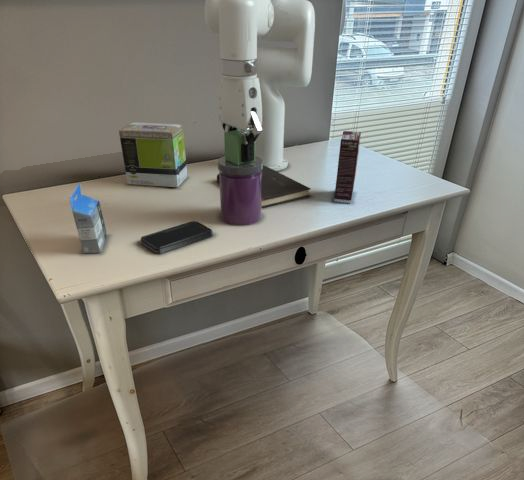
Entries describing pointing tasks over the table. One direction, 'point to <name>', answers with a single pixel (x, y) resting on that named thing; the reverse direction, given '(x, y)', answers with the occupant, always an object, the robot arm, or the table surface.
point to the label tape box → (88, 221)
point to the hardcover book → (279, 188)
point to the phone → (176, 237)
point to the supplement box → (347, 166)
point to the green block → (234, 146)
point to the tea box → (154, 154)
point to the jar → (240, 191)
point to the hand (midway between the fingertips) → (240, 157)
